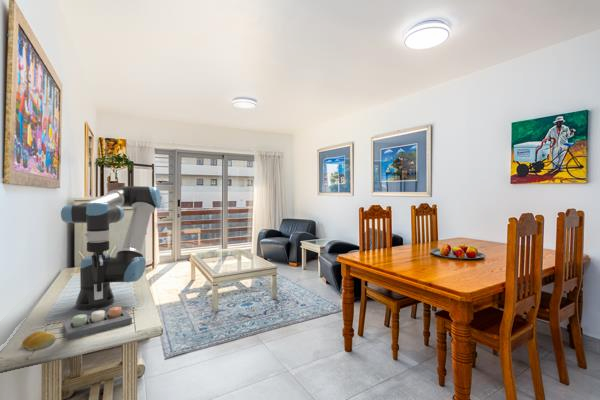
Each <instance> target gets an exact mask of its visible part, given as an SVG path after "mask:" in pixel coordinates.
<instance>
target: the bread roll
mask: <svg viewBox="0 0 600 400" xmlns="http://www.w3.org/2000/svg"><path fill="white" fill-rule="evenodd" d="M55 341H56V335H55V334H53V333H49V332H48V331H43V330H42V331H37V332H36V331H35V332H33V333H31V334H29V335H28V336H27V337H25V339H24V340H23V341H22V347H23V348H25V349H27V350H29V351H35V350H40V349H44V348H47V347H49V346H51V345H52V344H53V343H54V342H55Z"/></svg>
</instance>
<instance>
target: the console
mask: <svg viewBox="0 0 600 400" xmlns="http://www.w3.org/2000/svg"><path fill="white" fill-rule="evenodd" d="M132 324H133V318H132V316H131V315H130V314H129V313H128V311H126V310H125V308H124V307H121V317H116V318H112V319H109V310H108V311H105V320H104V321H100V322H96V323H92V324H91V314H89V315H87V325H83V326H79V327H75V328H73V318H72V319H66V320H63V321H62V328H63V331H64V335H65V336H66V339H67V341H70V340H74V339H78V338H81V337H85V336H90V335H94V334H96V333H97V334H98V333H101V332H104V331H108V330H113V329H116V328H120V327H123V326H127V325H132Z"/></svg>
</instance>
